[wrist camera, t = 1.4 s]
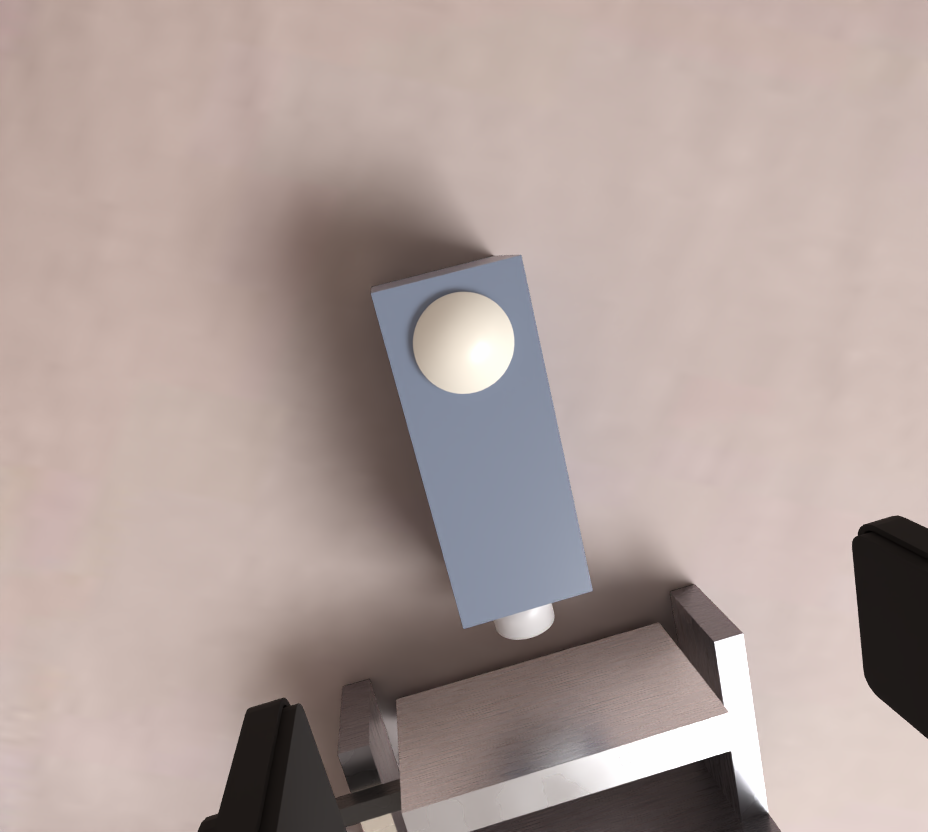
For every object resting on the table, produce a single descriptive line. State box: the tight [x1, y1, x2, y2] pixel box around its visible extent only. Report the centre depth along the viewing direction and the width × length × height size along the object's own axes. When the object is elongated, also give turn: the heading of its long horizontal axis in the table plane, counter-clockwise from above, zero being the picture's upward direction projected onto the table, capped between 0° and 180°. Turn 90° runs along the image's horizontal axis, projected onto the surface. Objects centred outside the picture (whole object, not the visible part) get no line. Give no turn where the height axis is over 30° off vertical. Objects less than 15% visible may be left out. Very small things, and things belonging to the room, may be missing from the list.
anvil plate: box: [335, 622, 735, 832], centre depth 26 cm, size 2×15×6 cm, turn 103°
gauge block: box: [371, 255, 593, 640], centre depth 24 cm, size 5×14×5 cm, turn 13°
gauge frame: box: [338, 584, 781, 832], centre depth 26 cm, size 10×16×8 cm, turn 103°
